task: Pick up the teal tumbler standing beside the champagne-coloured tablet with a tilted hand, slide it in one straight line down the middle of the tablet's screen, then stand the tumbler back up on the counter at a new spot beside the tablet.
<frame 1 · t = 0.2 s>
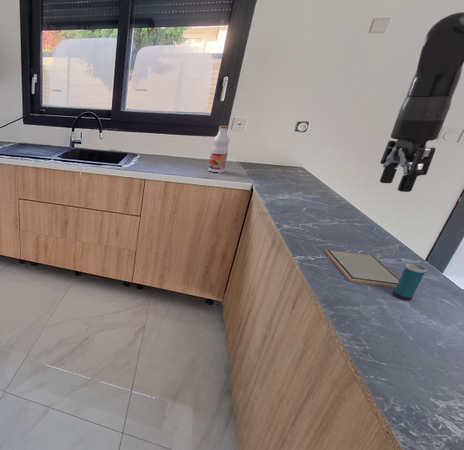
hand: (394, 186, 77), 25 cm above the worktop, tool pointing down, fingers open, 8 cm apart
tablet: (361, 268, 89), on the worktop
fruit juice: (215, 172, 198), on the worktop
tumbler: (401, 296, 76), on the worktop
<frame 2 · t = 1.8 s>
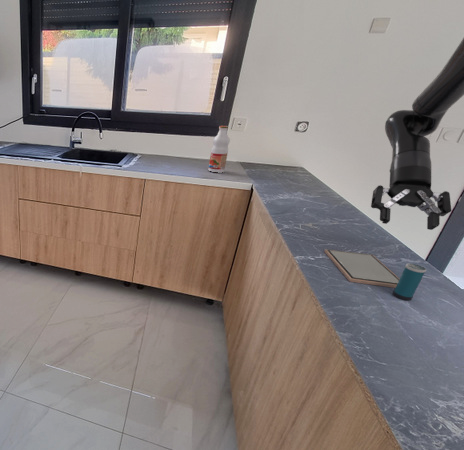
hand: (408, 225, 80), 15 cm above the worktop, tool tilted 45°, fingers open, 8 cm apart
nothing on the worktop moved.
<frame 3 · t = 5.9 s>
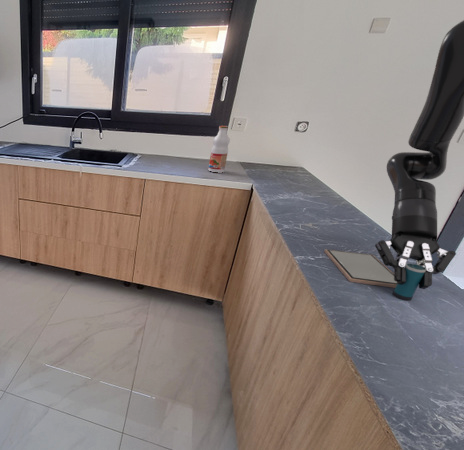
hand: (412, 285, 73), 4 cm above the worktop, tool tilted 45°, fingers closed on tumbler, 3 cm apart
tumbler: (401, 296, 76), on the worktop, touching gripper
everything else where it was.
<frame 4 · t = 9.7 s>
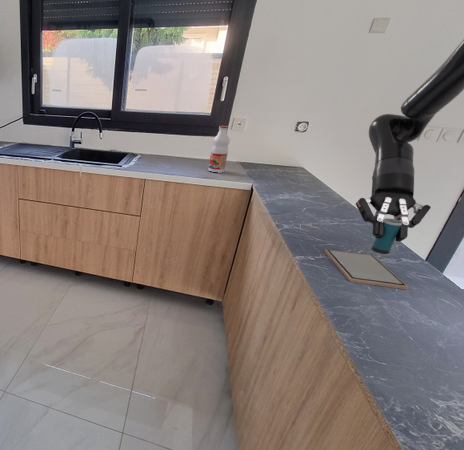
hand: (389, 238, 77), 13 cm above the worktop, tool tilted 45°, fingers closed on tumbler, 3 cm apart
tumbler: (379, 251, 80), point 9 cm above the worktop, touching gripper
everything else where it was.
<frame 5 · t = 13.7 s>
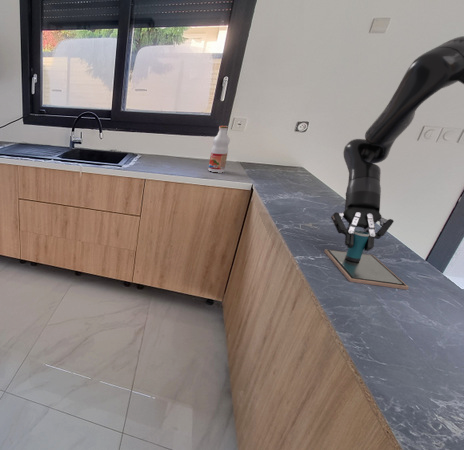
hand: (358, 248, 88), 6 cm above the worktop, tool tilted 45°, fingers closed on tumbler, 3 cm apart
tumbler: (352, 259, 91), point 1 cm above the worktop, touching gripper
everything else where it was.
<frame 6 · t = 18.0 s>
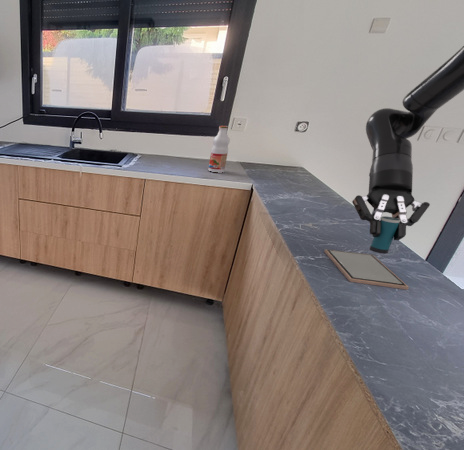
hand: (387, 237, 74), 15 cm above the worktop, tool tilted 45°, fingers closed on tumbler, 3 cm apart
tumbler: (378, 250, 77), point 10 cm above the worktop, touching gripper
everything else where it was.
when the fingers open (4 cm above the worktop, at t = 21.5 s): tumbler stays where it is, on the worktop.
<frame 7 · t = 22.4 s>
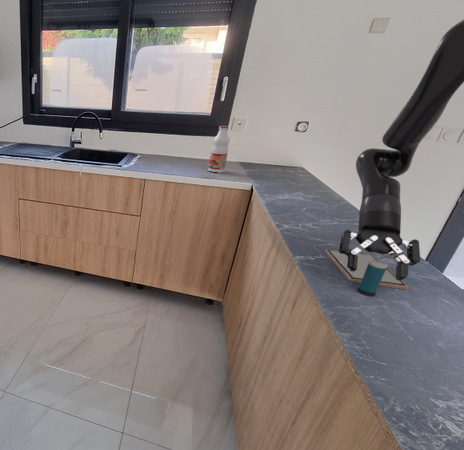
hand: (376, 274, 75), 6 cm above the worktop, tool tilted 45°, fingers open, 8 cm apart
tumbler: (366, 292, 78), on the worktop
everything else where it was.
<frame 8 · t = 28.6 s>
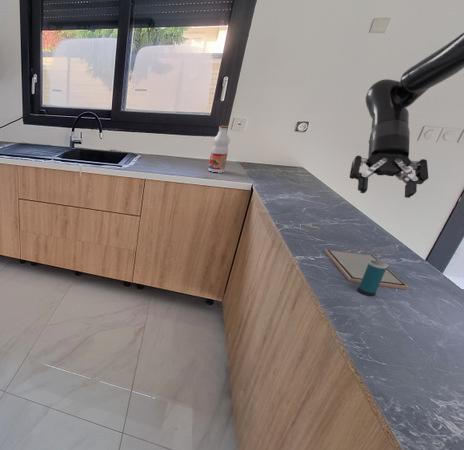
hand: (385, 193, 79), 23 cm above the worktop, tool tilted 45°, fingers open, 8 cm apart
nothing on the worktop moved.
at the end: tumbler 0.5 cm from the target spot, on the worktop; tumbler tilted 0°; the gripper is holding nothing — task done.
